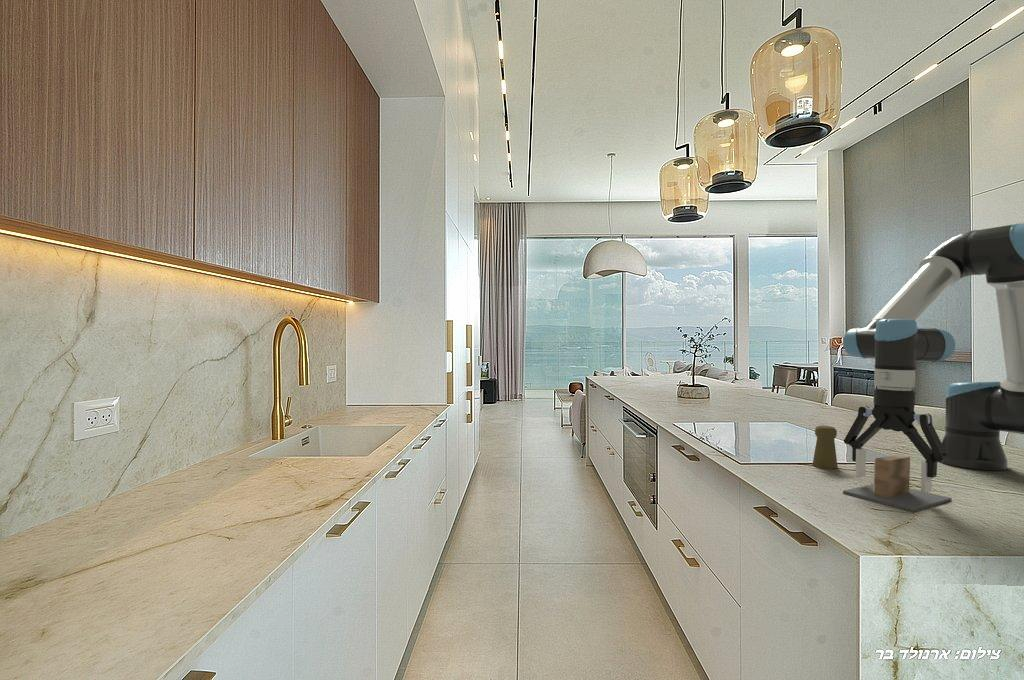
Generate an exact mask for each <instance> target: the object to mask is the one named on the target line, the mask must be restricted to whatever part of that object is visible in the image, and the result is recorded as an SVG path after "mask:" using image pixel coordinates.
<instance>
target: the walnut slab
mask: <svg viewBox="0 0 1024 680" xmlns="http://www.w3.org/2000/svg"><path fill="white" fill-rule="evenodd" d="M910 468H911V456H907V455H903V454H897V453H896V454H893V455H892V454H891V455H886V456H881V457H876V458H875V459H873V484H874V489H873V492H875V495H878V496H882V497H886V498H889V497H893V496H896V495H900V494H904V493H908V492H909V488H910V478H911V477H910V472H911V469H910Z"/></svg>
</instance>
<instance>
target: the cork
mask: <svg viewBox="0 0 1024 680" xmlns="http://www.w3.org/2000/svg"><path fill="white" fill-rule="evenodd" d="M814 435H815V436H816V442H815V447H814V454H813V457H812V458H813V459H812V464H811V465H812V466H813V467H816V468H818V469H824V470H825V469H826V470H837V469H838V468H839V467H838V459H837V458H838V457H837V451H836V450H837V449H836V443H835V442H836V441H835V439H836V438H837V435H838V431H837V428H835V427H834V426H831V425H826V424H825V425H823V424H822V425H821V424H820V425H818V426H816V427H815V428H814Z"/></svg>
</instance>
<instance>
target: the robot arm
mask: <svg viewBox="0 0 1024 680" xmlns="http://www.w3.org/2000/svg"><path fill="white" fill-rule="evenodd" d="M981 275H985V280H986V283H987V284H988V285H990V286H991V287H993V288H994V289H995V295H996V301H997V311H998V318H999V325H1000V326H999V327H1000V333H1001V334H1000V335H1001V342H1002V343H1001V344H1002V349H1003V358H1004V364H1005V371H1006V372H1005V373H1006V379H1005V380H1003V381H1002V382H1001V381H976V382H975V381H974V382H970V381H969V382H954V383H953V382H952V383H950V384H949V385H947V388H946V394H945V398H944V399H945V417H944V418H945V424H944V425H945V426H944V427H945V429H944V431H945V432H944V435H943V438H942V439H940V437H939V435H938V433H937V430H936V429H935V427H934V424H933V417H932V415H931V414H930V413H922V414H920V413H919V414H918V413H917V414H916V413H915V406H916V405H915V403H916V402H915V401H916V392H915V391H914V390H913V389H914V388H916V366H917V365H916V363H917V362H930V363H935V362H940V361H945V360H947V359H949V358H950V357H951V356H952V355H953V354H954V353H955V350H956V340H955V338H954V336H953V335H952V334H951V333H950V332H949V331H947V330H945V329H940V328H936V327H935V328H934V327H928V328H918V326H917V322H916V321H917V319H918V318H919V317H920V316H921V315H922V314H923V313H924V312H925V311H926V310H927V309H928V308H929V306H930V305H932V303H933V302H934V301H936V299H937V298H938V297H939V296H940V295H941V293H942V292H944V291H945V289H946V288H947V287H950V286H953V285H955V284H956V283H958V282H959V280H962V279H963V278H965V277H970V276H981ZM842 346H843V347H842V348H843V349H844V351H845V353H846V354H847V355H849V356H850V357H853V358H860V359H867V360H868V359H871V360H872V359H873V360H874V370H873V371H874V374H873V375H874V379H873V385H874V386H876V387H875V388H874V389H873V408H872V407H869V406H868V405H866V406H859V407H858V410H857V416H856V418H855V419H854V422H853V423H852V425H851V427H850V429H849V431H848V432H847V434H846V435H845V437H844V439H843V443H844V444H846V445H849V446H850V447H851V449H852V452H851V453H852V455H851V459H852V462H855V474H854V475H855V476H854V477H855V478H863V477H866V467H867V466H866V464H867V463H866V461H867V460H866V459H867V458H866V457H867V453H866V452H867V448H865V447H864V445H866V443H867V442H868V441H870V439H872V438H873V437H874V436H875V435H876V434H877V433H878V432H879V431H880V430H882V429H883V430H885V431H886V430H887V431H888V430H891V431H893V432H902V433H903V434H904V435H905V436H907V438H908V439H909V441H910V442H911V443H912V444H913V446H914V447H915V448H916V449H917V451H918V452H919V453H920V454H921V455H922V457H923V458H924V460H923V461H921V470H920V471H921V473H920V474H921V475H920V477H921V478H920V491H921V492H922V493H927V492H928V493H932V484H933V481H932V480H933V478H936V477H937V475H938V474H937V473H938V462H940V463H942V464H945V465H949V466H954V467H958V468H963V469H969V470H970V469H972V470H978V471H979V470H980V471H981V470H982V471H1005V470H1008V459H1007V456H1006V453H1005V450H1004V447H1003V445H1002V443H1001V440H1000V437H1001V436H1000V435H1001V434H1000V433H1001V432H1005V433H1011V434H1018V435H1024V222H1021V223H1014V224H1009V225H1003V226H1002V225H1001V226H995V227H990V228H981V229H973V230H968V231H966V232H962V233H960V234H958V235H955V236H953V237H951V238H949V239H948V240H946V241H944V242H942V243H941V244H940V245H939V246H937V247H936V248H935V249H933V250H932V251H930V252H929V253H928V254H927V255H926V256H925V257H924V258H923V259H922V260H921V261H920V262H919V264H918V270H917V271H916V272H915V273H914V275H912V276H911V278H910V279H908V281H907V282H906V283H905V284H904V285H902V287H901V288H900V289H899V290H898V291H897V293H895V294H894V295H893V296H892V298H891V299H890V300H889V301H888V302H887V303H885V305H884V306H883V307H882V308H881V309H880V310H879V311H878V312H877V313H876V314H875V315H874V316H873V317H872V318H871V319H870V320H869V322H867V324H866V325H865V326H864V327H862V328H861V327H856V328H851V329H848V331H846V332H845V334H844V336H843V339H842ZM871 416H873V418H874V421H873V422H871V424H869V426H868V427H867V429H866V430H865V431H863V432H862V433H861V431H862V430H863V428H864V426H865V424H866V422H867V421H868V419H869V417H871ZM915 421H916V422H917V423H918V425H919V427H920V428H921V430H922V433H923V434H924V437H925V438H926V440H925V439H924V438H923V437H922V436H921V434H920V433H919V432H918V429H917V428H916V426H915V425H914V424H913V423H914V422H915ZM860 433H861V434H860ZM926 441H927V442H926Z"/></svg>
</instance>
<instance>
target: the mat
mask: <svg viewBox="0 0 1024 680" xmlns="http://www.w3.org/2000/svg"><path fill="white" fill-rule="evenodd" d="M873 489H874V483H872V484H867V485H863V486H858V487H854V488H847V489H846V490H845V489H844V490H843V491H842V494H845V495H849V496H853V497H856V498H858V499H859V498H860V499H863V500H867V501H871V502H875V503H878V504H883V505H887V506H889V505H890V507H893V508H897V509H901V510H904V509H905V511H908V510H909V512H912V511H914V512H917V511H920V509H921V510H924V509H928V508H932V507H935V506H938V505H941V504H940V503H942V504H945V503H944V502H946V503H949V502H952V498H951V497H948V496H944V495H941V494H936V493H932V492H927V493H922V492H921V490H918V489H914V488H910V487H909V492H908V493H904V494H900V495H896V496H893V497H889V498H886V497H882V496H878V495H875V492H873ZM948 501H949V502H948ZM937 504H938V505H937ZM934 505H935V506H934ZM927 507H928V508H927Z"/></svg>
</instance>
